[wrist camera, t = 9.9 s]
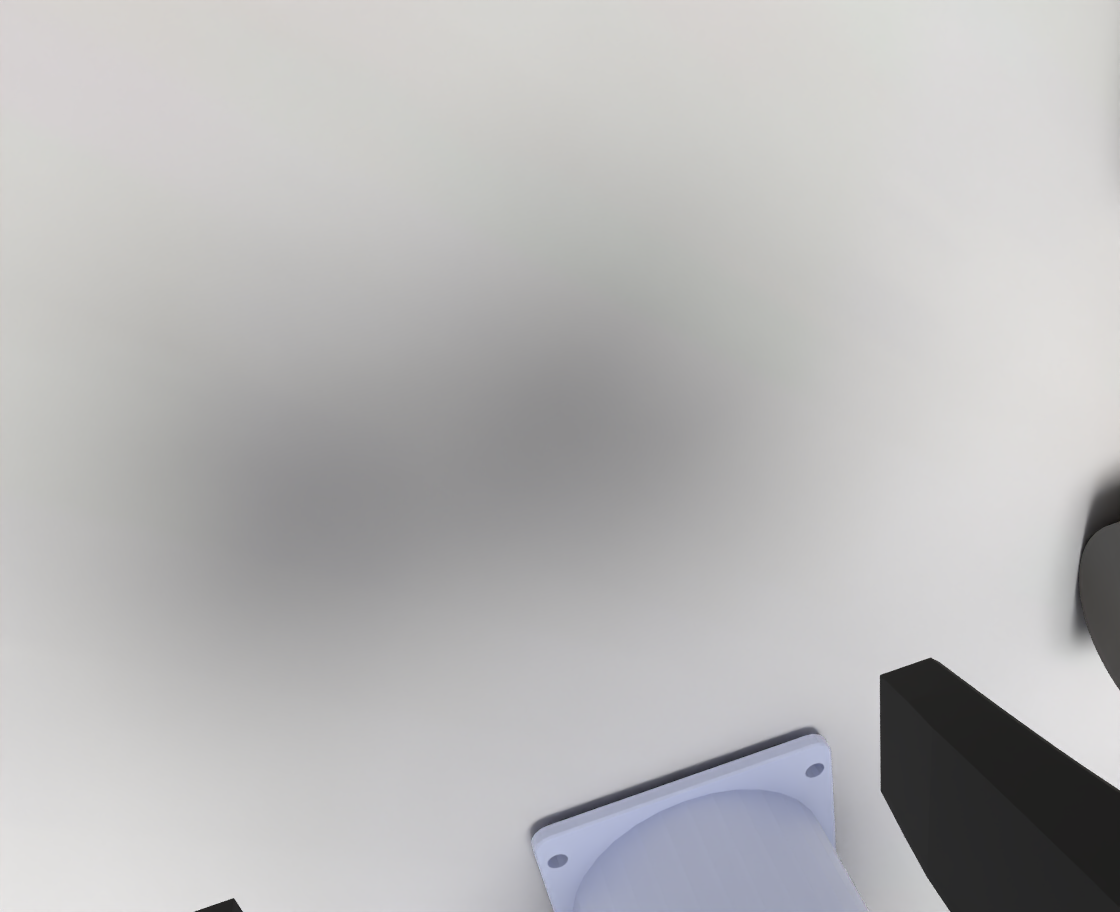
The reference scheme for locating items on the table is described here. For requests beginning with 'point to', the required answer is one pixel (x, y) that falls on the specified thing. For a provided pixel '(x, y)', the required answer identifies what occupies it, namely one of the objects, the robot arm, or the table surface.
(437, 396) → the table surface
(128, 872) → the table surface
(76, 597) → the table surface
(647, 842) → the robot arm
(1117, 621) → the chassis
